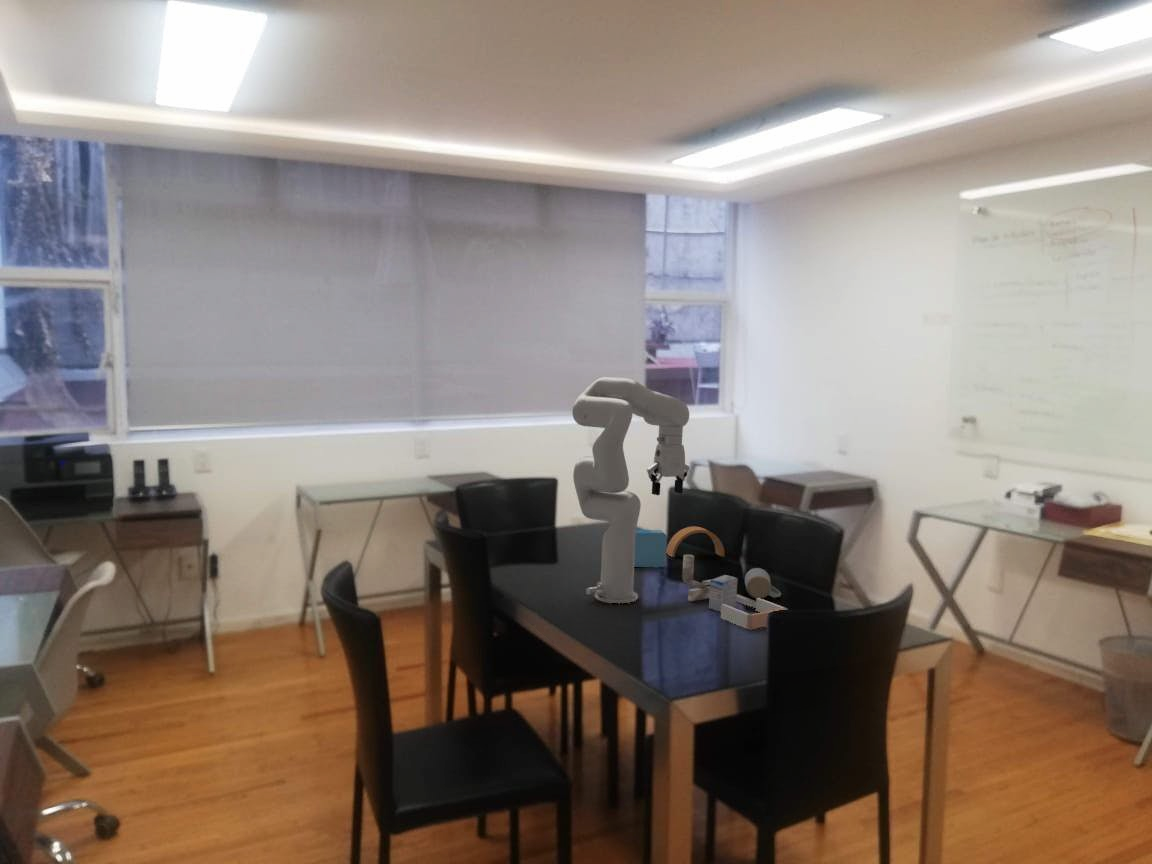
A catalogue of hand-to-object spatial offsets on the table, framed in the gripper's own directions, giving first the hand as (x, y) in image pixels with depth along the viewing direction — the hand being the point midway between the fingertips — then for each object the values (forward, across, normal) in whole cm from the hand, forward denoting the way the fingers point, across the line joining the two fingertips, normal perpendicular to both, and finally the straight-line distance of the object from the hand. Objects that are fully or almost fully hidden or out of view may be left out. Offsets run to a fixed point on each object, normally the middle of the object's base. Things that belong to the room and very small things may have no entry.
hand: (667, 493), depth 280 cm
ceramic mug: (+27, +10, -33) cm, 44 cm away
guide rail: (+26, 0, -33) cm, 42 cm away
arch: (+26, +27, +13) cm, 40 cm away
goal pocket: (+27, -10, -48) cm, 55 cm away
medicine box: (+27, -9, -36) cm, 45 cm away
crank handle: (+26, -6, -24) cm, 36 cm away
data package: (+26, +2, +10) cm, 28 cm away
